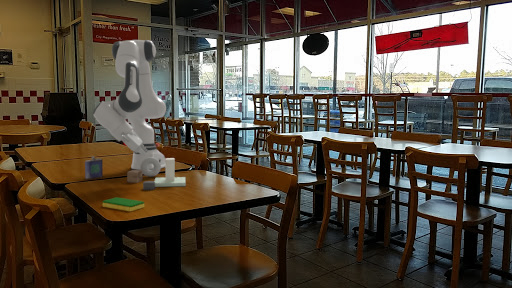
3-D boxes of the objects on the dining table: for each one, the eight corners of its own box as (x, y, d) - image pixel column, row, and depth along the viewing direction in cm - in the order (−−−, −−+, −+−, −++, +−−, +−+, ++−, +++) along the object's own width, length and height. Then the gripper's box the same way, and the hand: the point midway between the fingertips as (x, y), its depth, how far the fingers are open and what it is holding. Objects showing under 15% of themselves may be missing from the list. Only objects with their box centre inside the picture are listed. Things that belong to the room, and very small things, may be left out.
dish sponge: (130, 212, 143) (130, 205, 142) (102, 207, 149) (101, 200, 149) (145, 208, 149) (145, 201, 149) (116, 203, 155) (116, 196, 155)
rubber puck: (148, 187, 182) (148, 180, 182) (157, 188, 180) (157, 181, 180) (140, 189, 178) (140, 182, 178) (149, 190, 176) (149, 183, 175)
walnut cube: (132, 180, 198) (132, 170, 197) (142, 180, 197) (142, 170, 196) (127, 182, 193) (127, 171, 192) (137, 182, 192) (136, 172, 191)
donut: (160, 175, 211) (159, 156, 210) (161, 176, 208) (161, 157, 207) (140, 176, 207) (139, 156, 206) (141, 177, 204) (140, 157, 203)
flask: (87, 179, 197) (86, 157, 196) (83, 179, 199) (83, 157, 198) (104, 176, 205) (103, 155, 204) (100, 176, 207) (99, 155, 206)
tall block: (165, 179, 193) (165, 158, 192) (174, 179, 194) (174, 158, 193) (165, 181, 189) (165, 159, 188) (174, 180, 190) (174, 159, 189)
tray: (155, 180, 197) (155, 177, 197) (185, 180, 199) (185, 177, 199) (153, 186, 183) (153, 183, 183) (185, 186, 186) (185, 182, 186)
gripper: (125, 129, 175) (149, 151, 178) (131, 125, 195) (152, 146, 198) (114, 139, 175) (138, 162, 178) (121, 135, 195) (142, 155, 198)
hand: (146, 153), depth 188 cm, fingers open, 8 cm apart
